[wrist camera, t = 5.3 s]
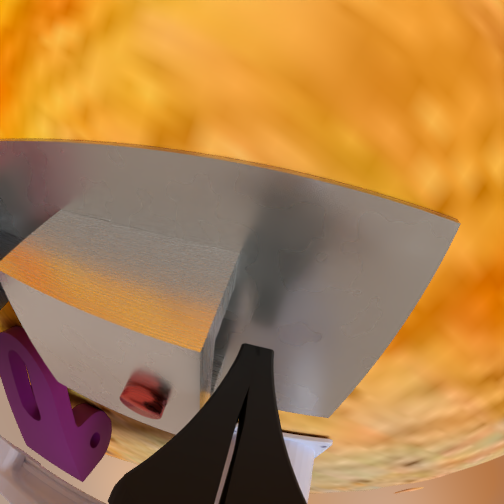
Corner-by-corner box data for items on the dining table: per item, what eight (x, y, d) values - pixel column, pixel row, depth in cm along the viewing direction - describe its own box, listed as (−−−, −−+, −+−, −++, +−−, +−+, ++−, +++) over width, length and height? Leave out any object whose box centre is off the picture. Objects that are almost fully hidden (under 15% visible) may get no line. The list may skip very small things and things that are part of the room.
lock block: (222, 371, 15) (196, 453, 11) (93, 327, 15) (52, 390, 11) (239, 252, 10) (192, 372, 6) (60, 209, 11) (-17, 277, 7)
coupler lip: (328, 413, 16) (322, 475, 13) (21, 310, 18) (-8, 347, 15) (457, 219, 8) (514, 310, 5) (-32, 140, 10) (-85, 172, 6)
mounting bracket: (40, 297, 27) (61, 414, 30) (-13, 319, 19) (26, 445, 22) (100, 321, 26) (115, 442, 29) (44, 355, 18) (82, 482, 21)
